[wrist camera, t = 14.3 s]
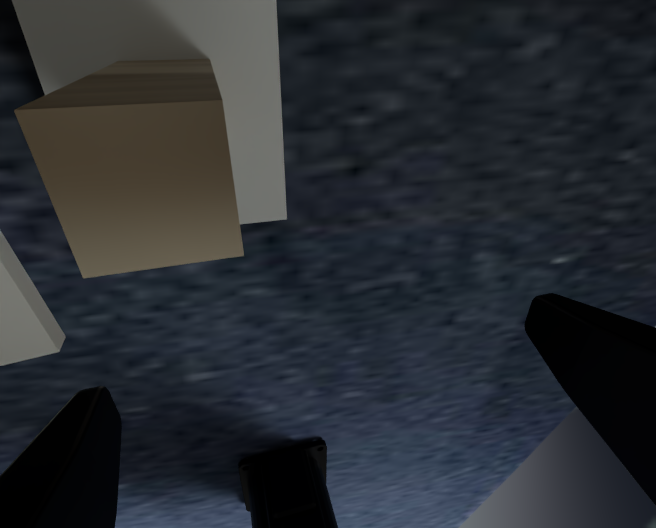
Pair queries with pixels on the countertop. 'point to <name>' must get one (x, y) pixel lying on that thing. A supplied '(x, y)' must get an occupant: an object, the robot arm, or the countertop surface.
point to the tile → (23, 314)
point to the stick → (138, 165)
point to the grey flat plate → (178, 44)
